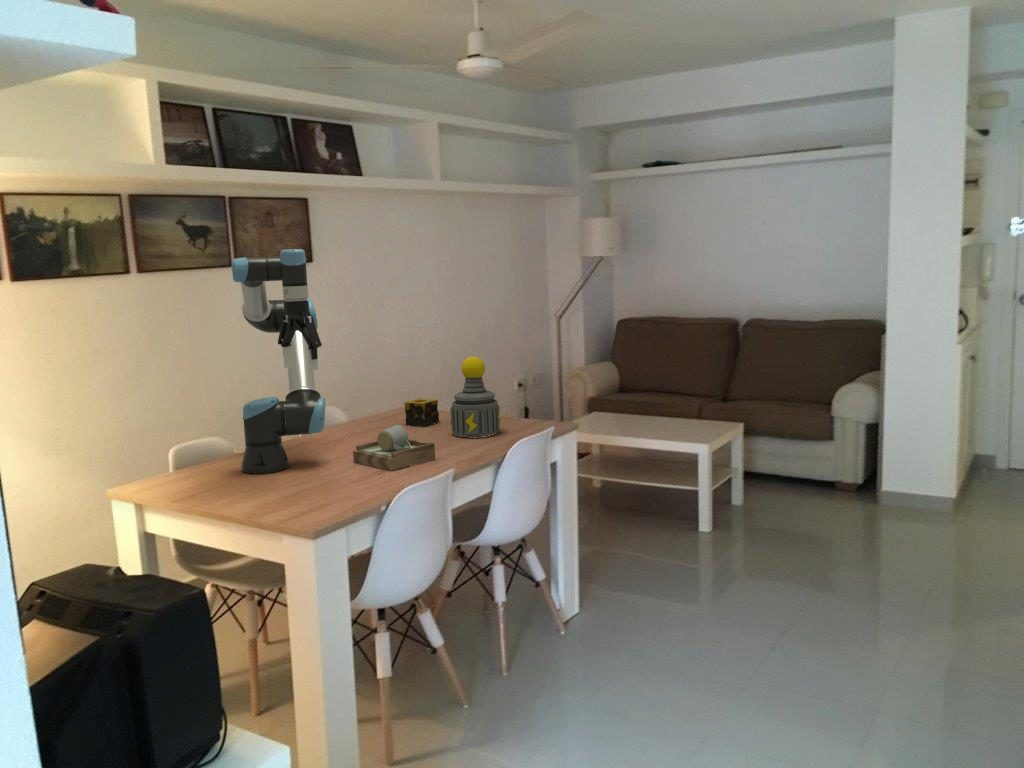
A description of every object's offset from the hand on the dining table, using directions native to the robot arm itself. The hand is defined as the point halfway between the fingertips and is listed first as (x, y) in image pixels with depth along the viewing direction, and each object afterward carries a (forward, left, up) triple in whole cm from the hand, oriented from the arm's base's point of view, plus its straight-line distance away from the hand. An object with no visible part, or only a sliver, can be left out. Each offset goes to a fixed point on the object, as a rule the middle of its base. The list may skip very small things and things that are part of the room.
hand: (301, 368), depth 262 cm
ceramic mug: (+8, +29, -31) cm, 43 cm away
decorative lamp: (-2, +77, -35) cm, 85 cm away
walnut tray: (+6, +30, -35) cm, 46 cm away
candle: (-34, +78, -35) cm, 92 cm away
